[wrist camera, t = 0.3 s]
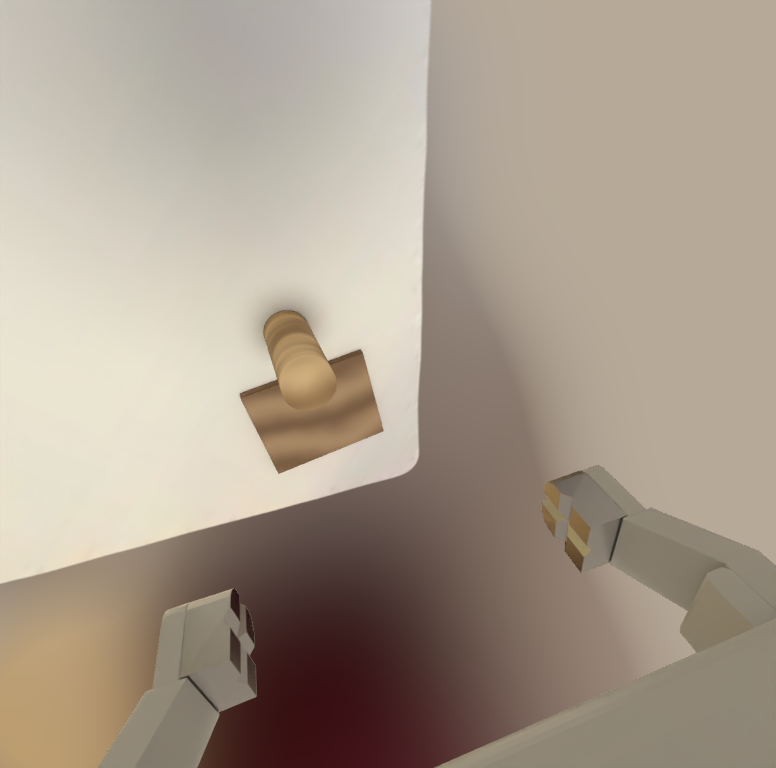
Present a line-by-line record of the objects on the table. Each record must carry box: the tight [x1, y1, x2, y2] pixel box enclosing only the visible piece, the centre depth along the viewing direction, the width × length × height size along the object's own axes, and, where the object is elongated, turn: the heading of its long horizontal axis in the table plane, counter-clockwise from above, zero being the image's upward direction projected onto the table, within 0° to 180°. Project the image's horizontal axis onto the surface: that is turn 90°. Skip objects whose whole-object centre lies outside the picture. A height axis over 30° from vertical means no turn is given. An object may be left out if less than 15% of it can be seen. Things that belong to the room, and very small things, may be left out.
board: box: [240, 350, 383, 474], centre depth 55 cm, size 13×15×1 cm
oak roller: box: [264, 311, 337, 411], centre depth 44 cm, size 5×5×12 cm
